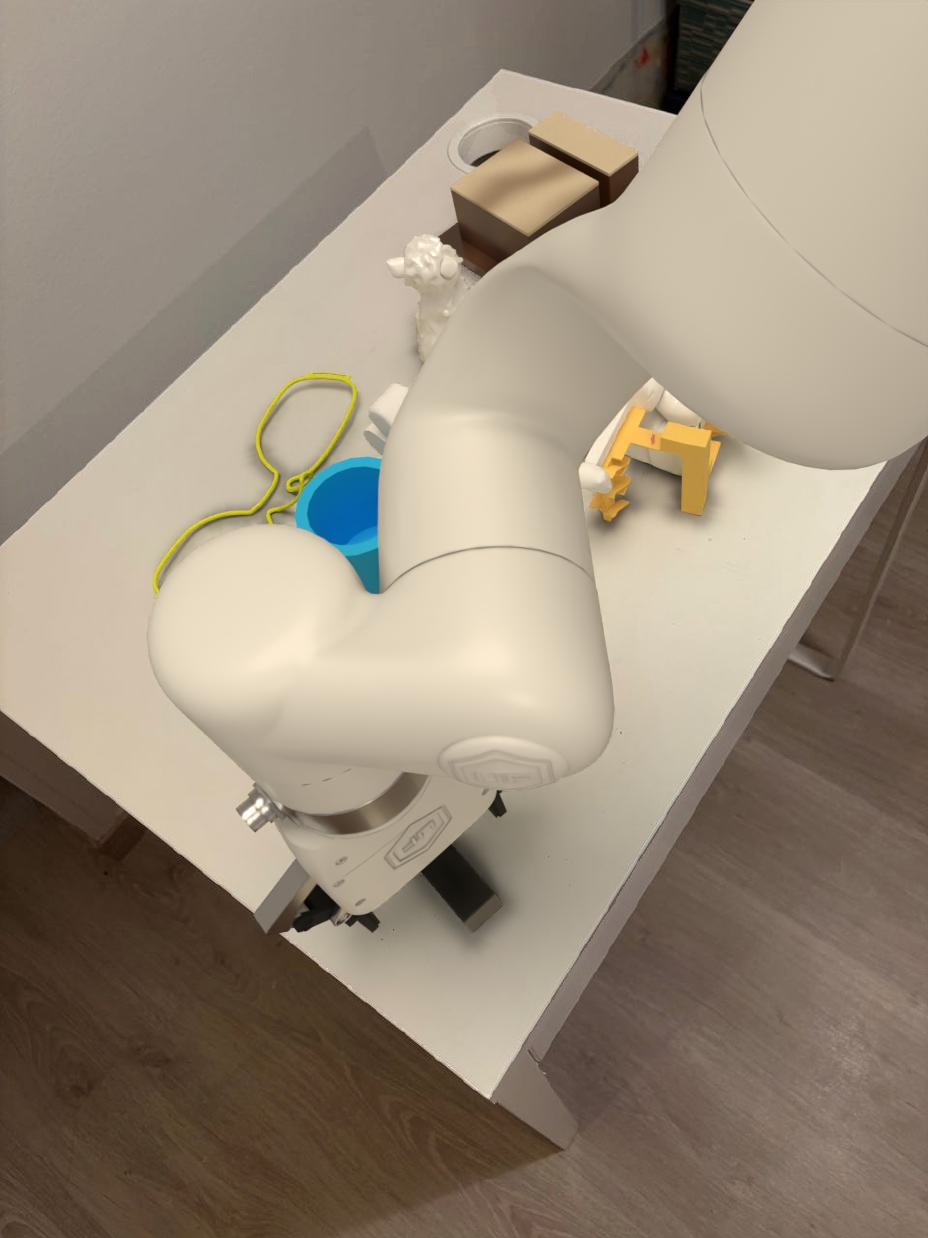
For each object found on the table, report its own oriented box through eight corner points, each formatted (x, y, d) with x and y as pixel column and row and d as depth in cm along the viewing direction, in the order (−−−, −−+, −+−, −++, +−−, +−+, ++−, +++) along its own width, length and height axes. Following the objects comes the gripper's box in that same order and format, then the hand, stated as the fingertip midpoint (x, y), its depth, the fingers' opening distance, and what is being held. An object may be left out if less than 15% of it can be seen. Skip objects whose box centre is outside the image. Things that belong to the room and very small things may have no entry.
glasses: (300, 371, 81) (281, 330, 77) (398, 396, 77) (383, 354, 73) (138, 606, 71) (107, 573, 67) (241, 646, 68) (214, 614, 64)
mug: (368, 511, 72) (336, 442, 65) (458, 545, 69) (435, 476, 62) (282, 637, 67) (238, 577, 61) (374, 679, 64) (339, 621, 57)
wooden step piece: (639, 206, 82) (638, 151, 77) (612, 227, 81) (609, 173, 77) (561, 164, 87) (556, 110, 82) (534, 184, 86) (527, 130, 81)
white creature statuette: (528, 317, 79) (508, 193, 69) (505, 394, 75) (480, 274, 65) (423, 312, 82) (389, 192, 71) (396, 386, 78) (355, 270, 68)
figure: (481, 399, 75) (461, 311, 67) (693, 328, 75) (697, 231, 67) (547, 568, 66) (532, 489, 58) (788, 488, 66) (806, 398, 58)
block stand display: (689, 222, 81) (691, 156, 76) (555, 326, 78) (548, 265, 72) (563, 155, 89) (557, 91, 83) (436, 247, 86) (422, 186, 80)
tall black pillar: (503, 905, 55) (494, 891, 52) (472, 934, 55) (462, 921, 52) (291, 663, 66) (273, 640, 63) (264, 684, 66) (245, 662, 63)
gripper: (229, 951, 37) (348, 1008, 51) (550, 671, 40) (575, 799, 55) (139, 816, 40) (274, 906, 55) (442, 570, 44) (492, 716, 58)
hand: (425, 852), depth 55 cm, fingers open, 9 cm apart
